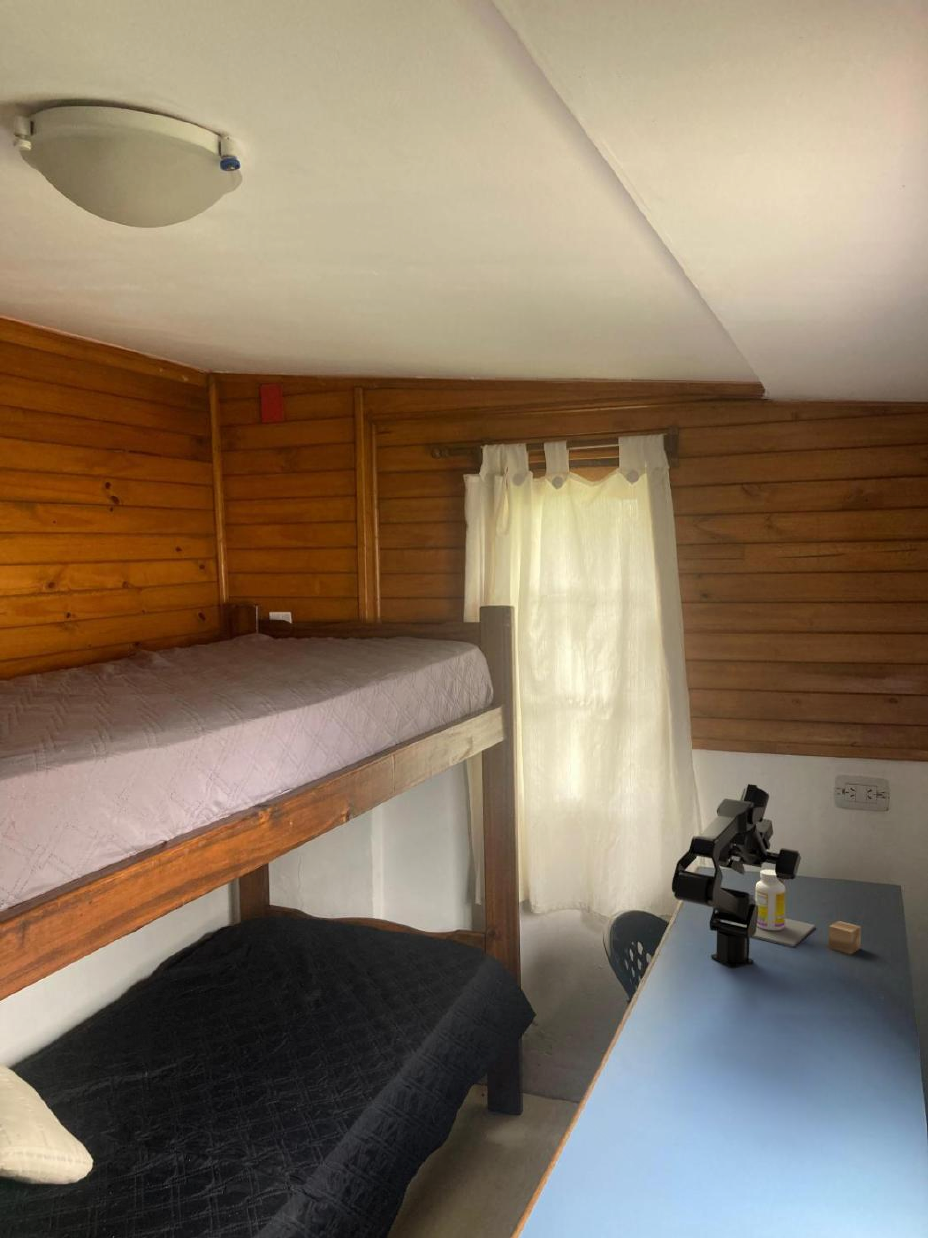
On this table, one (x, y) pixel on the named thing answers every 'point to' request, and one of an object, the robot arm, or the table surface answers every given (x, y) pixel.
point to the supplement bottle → (770, 901)
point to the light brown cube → (844, 937)
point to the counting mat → (784, 933)
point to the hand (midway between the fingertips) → (763, 877)
